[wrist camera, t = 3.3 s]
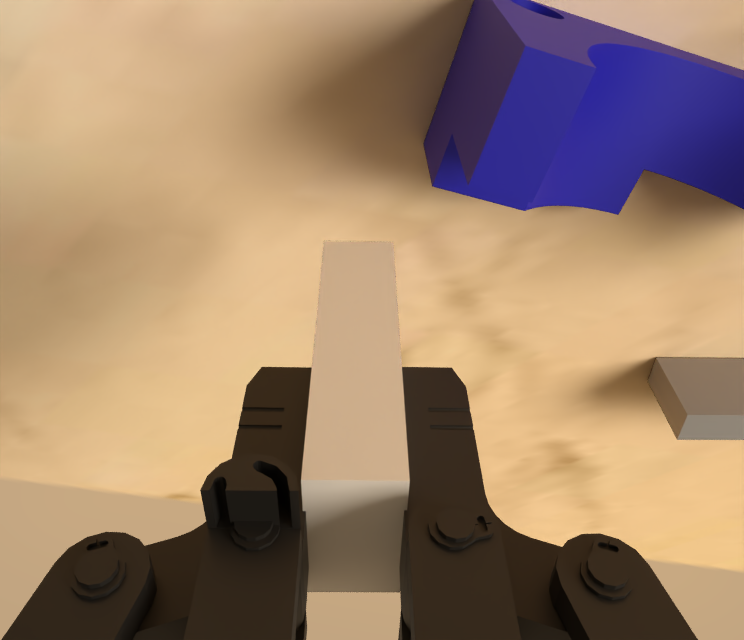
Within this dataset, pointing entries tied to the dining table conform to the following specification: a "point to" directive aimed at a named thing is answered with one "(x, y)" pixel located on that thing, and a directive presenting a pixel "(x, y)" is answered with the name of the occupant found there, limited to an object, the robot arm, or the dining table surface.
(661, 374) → the gray u-shaped frame
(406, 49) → the dining table surface
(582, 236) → the dining table surface
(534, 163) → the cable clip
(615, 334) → the dining table surface
